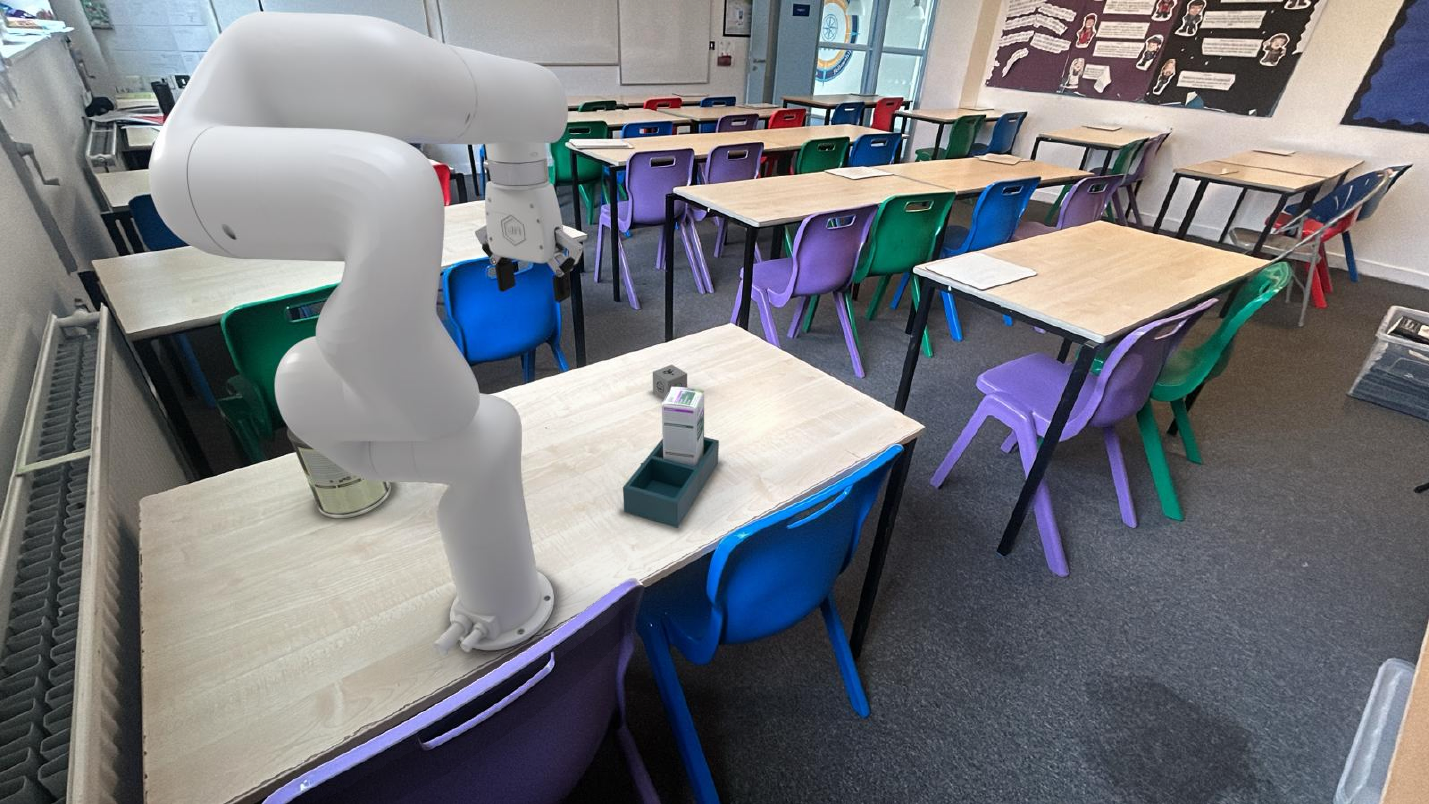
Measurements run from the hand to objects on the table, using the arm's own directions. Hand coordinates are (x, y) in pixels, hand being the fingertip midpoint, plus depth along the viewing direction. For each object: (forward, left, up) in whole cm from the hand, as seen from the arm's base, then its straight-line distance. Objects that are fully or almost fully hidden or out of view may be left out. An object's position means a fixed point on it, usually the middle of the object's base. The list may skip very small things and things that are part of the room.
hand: (534, 293), depth 90 cm
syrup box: (+5, -22, -30) cm, 37 cm away
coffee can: (-21, +23, -31) cm, 44 cm away
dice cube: (+28, -9, -31) cm, 42 cm away
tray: (+1, -22, -30) cm, 37 cm away
